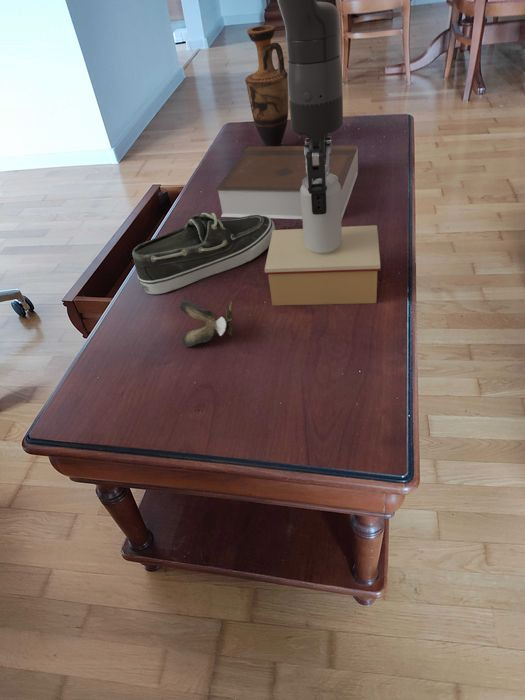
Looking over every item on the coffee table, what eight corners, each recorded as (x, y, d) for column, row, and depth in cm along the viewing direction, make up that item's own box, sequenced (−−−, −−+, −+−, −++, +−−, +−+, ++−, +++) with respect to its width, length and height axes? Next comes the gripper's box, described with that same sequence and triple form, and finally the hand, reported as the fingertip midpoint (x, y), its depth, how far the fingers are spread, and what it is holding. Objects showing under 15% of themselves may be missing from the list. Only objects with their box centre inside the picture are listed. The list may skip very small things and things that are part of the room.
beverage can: (332, 233, 91) (330, 167, 83) (348, 250, 86) (347, 182, 78) (299, 242, 90) (293, 176, 82) (312, 260, 85) (308, 192, 77)
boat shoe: (289, 243, 106) (285, 199, 99) (158, 307, 95) (143, 262, 88) (259, 226, 113) (253, 183, 106) (134, 283, 102) (119, 239, 95)
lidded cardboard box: (376, 263, 97) (377, 225, 91) (379, 304, 87) (380, 265, 82) (276, 266, 100) (272, 229, 95) (269, 307, 90) (264, 269, 85)
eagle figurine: (232, 309, 89) (179, 308, 89) (233, 294, 83) (176, 292, 82) (231, 351, 87) (178, 350, 87) (233, 339, 80) (175, 338, 80)
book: (251, 171, 135) (248, 146, 131) (358, 171, 127) (358, 145, 123) (220, 216, 118) (215, 189, 114) (341, 220, 110) (340, 191, 106)
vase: (250, 160, 141) (232, 35, 121) (261, 145, 148) (247, 24, 128) (288, 160, 138) (276, 32, 118) (298, 144, 145) (288, 21, 125)
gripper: (342, 107, 66) (343, 221, 77) (342, 76, 76) (344, 180, 87) (284, 112, 67) (294, 223, 78) (292, 80, 78) (300, 183, 89)
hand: (320, 200), depth 83 cm, fingers open, 8 cm apart
